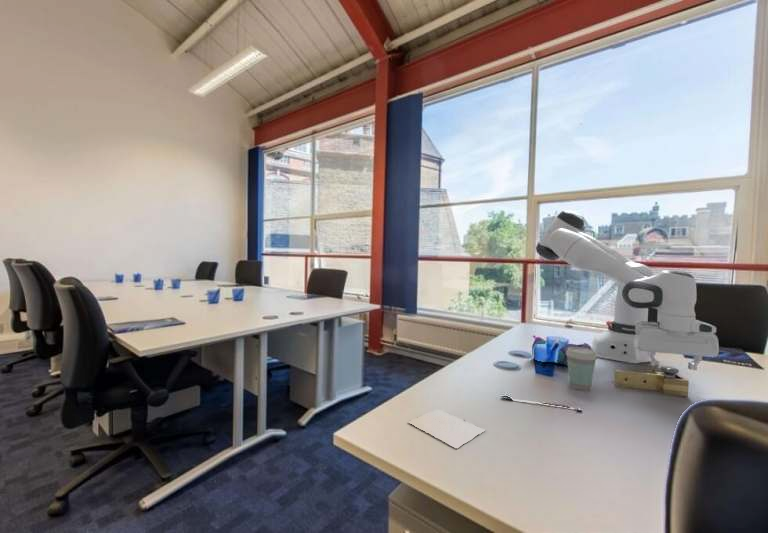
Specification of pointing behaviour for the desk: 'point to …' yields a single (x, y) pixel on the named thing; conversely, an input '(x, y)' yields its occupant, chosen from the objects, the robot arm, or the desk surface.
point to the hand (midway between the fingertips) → (673, 367)
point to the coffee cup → (580, 367)
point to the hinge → (652, 381)
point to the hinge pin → (669, 371)
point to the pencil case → (562, 352)
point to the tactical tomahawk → (555, 405)
